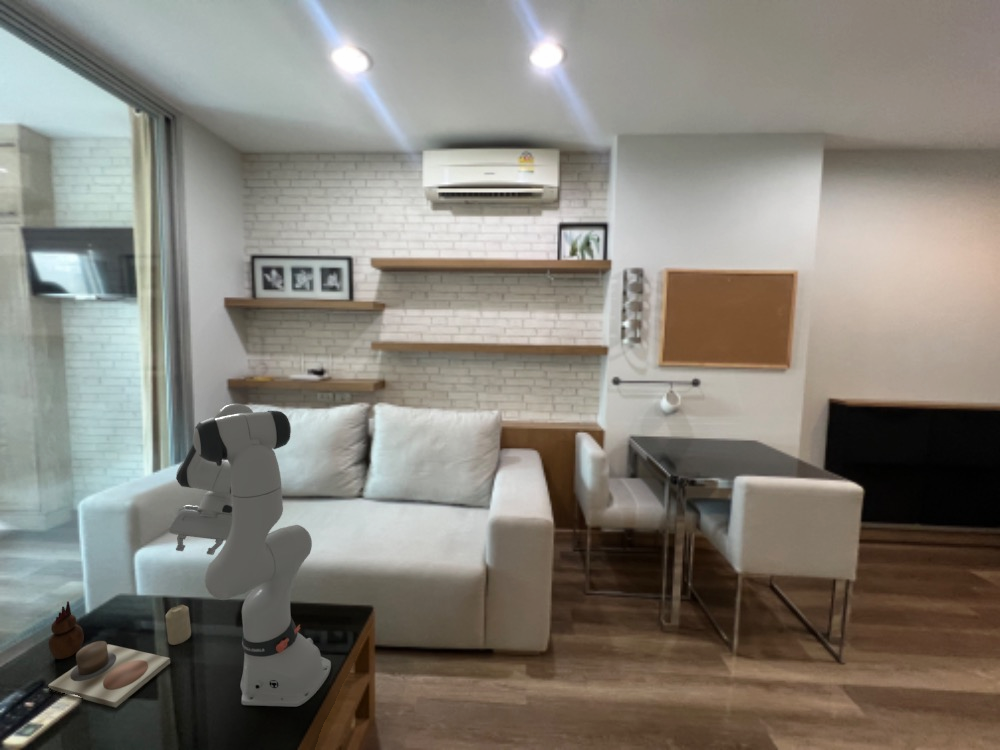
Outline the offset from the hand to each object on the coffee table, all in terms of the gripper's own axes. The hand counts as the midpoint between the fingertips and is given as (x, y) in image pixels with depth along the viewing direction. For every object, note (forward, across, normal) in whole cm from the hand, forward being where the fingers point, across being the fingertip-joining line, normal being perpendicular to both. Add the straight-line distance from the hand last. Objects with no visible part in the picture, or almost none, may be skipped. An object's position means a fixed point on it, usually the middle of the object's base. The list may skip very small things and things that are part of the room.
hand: (194, 552), depth 134 cm
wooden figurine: (+29, -24, +5) cm, 38 cm away
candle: (+23, +3, +7) cm, 24 cm away
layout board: (+32, -6, -2) cm, 33 cm away
